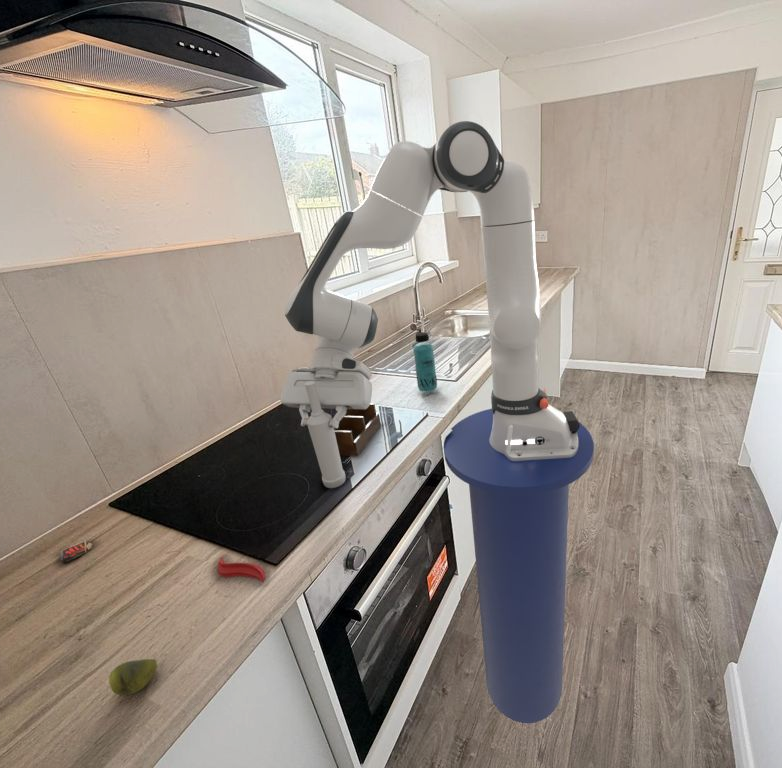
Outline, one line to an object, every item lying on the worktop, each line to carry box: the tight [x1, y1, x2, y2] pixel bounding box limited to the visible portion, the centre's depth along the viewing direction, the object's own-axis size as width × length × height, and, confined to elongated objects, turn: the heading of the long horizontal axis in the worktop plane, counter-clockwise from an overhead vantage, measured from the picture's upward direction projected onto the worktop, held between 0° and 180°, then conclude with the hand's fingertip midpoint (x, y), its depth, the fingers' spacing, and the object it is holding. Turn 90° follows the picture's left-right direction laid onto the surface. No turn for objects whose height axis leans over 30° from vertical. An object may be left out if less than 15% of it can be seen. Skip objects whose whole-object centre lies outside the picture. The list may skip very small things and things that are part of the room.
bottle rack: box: [334, 402, 382, 457], centre depth 110 cm, size 8×16×7 cm, turn 169°
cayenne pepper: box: [216, 557, 266, 583], centre depth 73 cm, size 12×5×2 cm, turn 56°
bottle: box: [305, 381, 347, 489], centre depth 90 cm, size 5×5×25 cm
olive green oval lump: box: [108, 658, 158, 697], centre depth 55 cm, size 4×5×5 cm
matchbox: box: [60, 540, 93, 563], centre depth 80 cm, size 5×5×1 cm
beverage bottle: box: [413, 332, 438, 393], centre depth 132 cm, size 6×7×20 cm
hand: (319, 427), depth 88 cm, fingers closed on bottle, 5 cm apart
